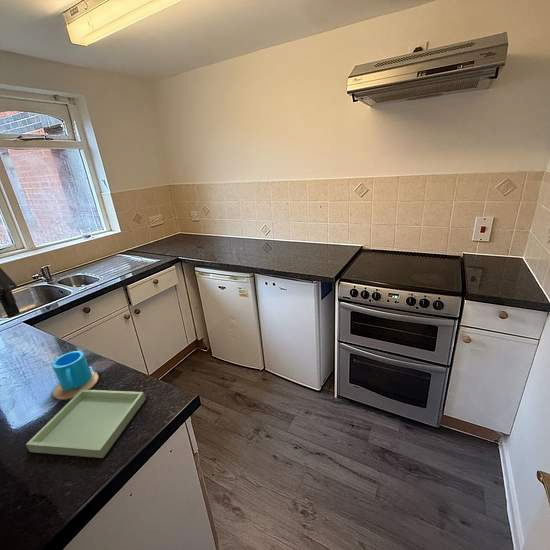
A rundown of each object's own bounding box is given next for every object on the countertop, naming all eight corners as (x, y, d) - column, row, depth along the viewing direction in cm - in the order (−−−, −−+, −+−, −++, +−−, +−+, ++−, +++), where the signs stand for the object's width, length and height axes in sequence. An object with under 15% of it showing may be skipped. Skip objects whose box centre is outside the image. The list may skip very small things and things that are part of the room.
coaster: (43, 399, 87) (42, 398, 87) (74, 371, 98) (74, 370, 98) (79, 400, 85) (78, 399, 85) (107, 372, 96) (106, 371, 96)
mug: (63, 378, 94) (54, 357, 91) (92, 368, 98) (84, 347, 95) (58, 402, 84) (47, 379, 81) (91, 390, 88) (81, 367, 85)
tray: (29, 452, 70) (25, 444, 69) (84, 396, 86) (81, 389, 85) (103, 458, 67) (99, 450, 66) (146, 398, 83) (143, 391, 82)
